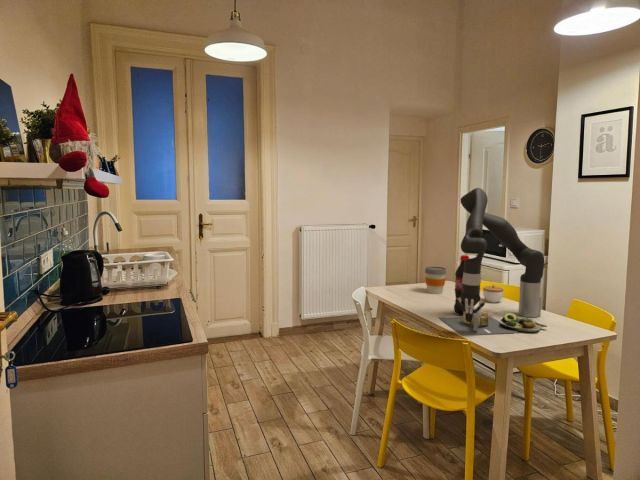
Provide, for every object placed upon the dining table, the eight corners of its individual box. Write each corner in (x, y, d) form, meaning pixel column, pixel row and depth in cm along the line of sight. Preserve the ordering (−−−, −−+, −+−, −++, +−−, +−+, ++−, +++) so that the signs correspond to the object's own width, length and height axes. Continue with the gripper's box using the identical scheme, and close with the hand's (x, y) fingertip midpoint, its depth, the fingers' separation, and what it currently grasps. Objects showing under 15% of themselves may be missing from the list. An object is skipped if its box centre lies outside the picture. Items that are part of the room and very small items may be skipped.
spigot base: (488, 316, 219) (489, 302, 218) (518, 333, 193) (519, 317, 193) (438, 318, 216) (439, 303, 215) (462, 335, 190) (462, 319, 190)
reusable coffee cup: (422, 290, 277) (423, 266, 275) (442, 290, 277) (443, 266, 275) (426, 294, 265) (427, 270, 263) (447, 294, 264) (448, 270, 262)
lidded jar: (478, 300, 252) (479, 283, 251) (493, 298, 256) (494, 282, 254) (491, 304, 242) (491, 287, 241) (507, 303, 245) (508, 286, 244)
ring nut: (463, 317, 213) (463, 306, 212) (488, 319, 209) (488, 308, 208) (461, 329, 194) (462, 317, 194) (489, 332, 191) (490, 319, 190)
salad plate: (547, 325, 205) (548, 315, 205) (546, 336, 190) (547, 325, 189) (502, 318, 214) (503, 309, 214) (497, 328, 199) (498, 318, 198)
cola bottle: (459, 316, 219) (462, 256, 215) (450, 312, 227) (452, 254, 223) (474, 315, 221) (477, 256, 217) (464, 311, 229) (467, 253, 225)
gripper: (454, 282, 193) (451, 321, 195) (486, 286, 187) (483, 326, 189) (457, 279, 199) (455, 316, 201) (488, 283, 193) (485, 321, 195)
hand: (468, 321), depth 195 cm, fingers closed
